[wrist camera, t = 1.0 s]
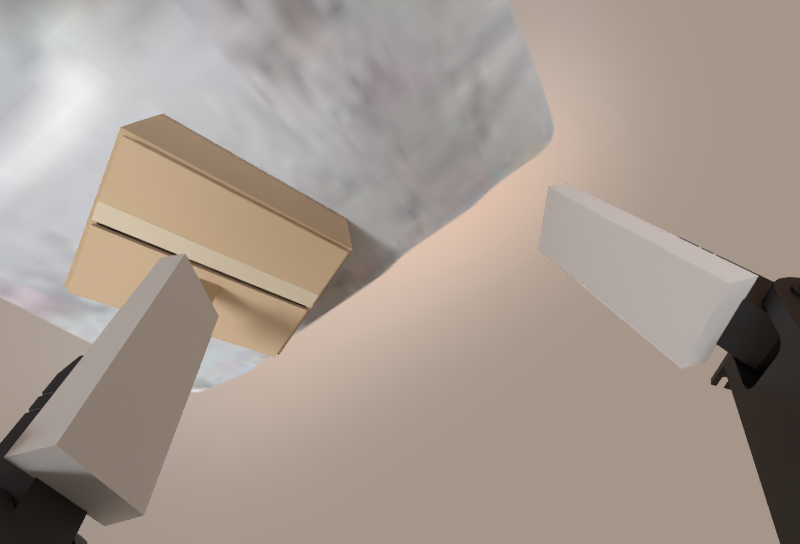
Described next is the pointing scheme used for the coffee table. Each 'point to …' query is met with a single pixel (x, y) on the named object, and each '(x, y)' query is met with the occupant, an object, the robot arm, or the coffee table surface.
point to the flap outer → (233, 300)
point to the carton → (217, 212)
